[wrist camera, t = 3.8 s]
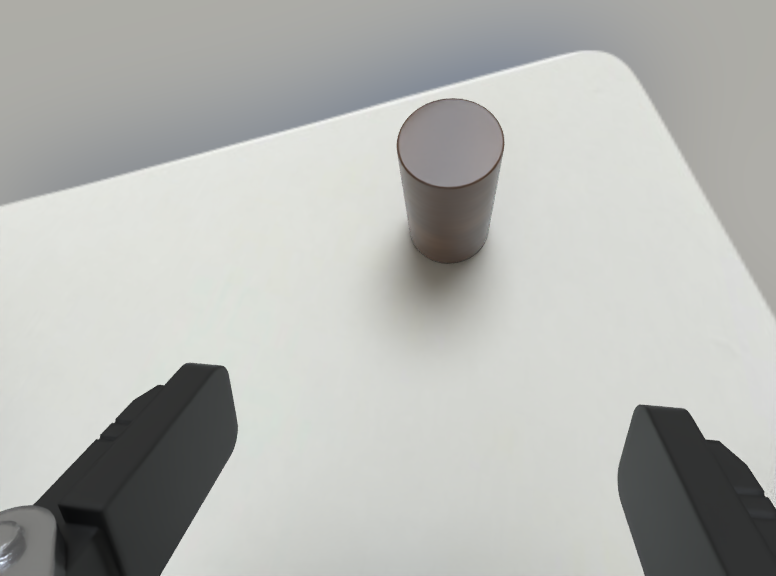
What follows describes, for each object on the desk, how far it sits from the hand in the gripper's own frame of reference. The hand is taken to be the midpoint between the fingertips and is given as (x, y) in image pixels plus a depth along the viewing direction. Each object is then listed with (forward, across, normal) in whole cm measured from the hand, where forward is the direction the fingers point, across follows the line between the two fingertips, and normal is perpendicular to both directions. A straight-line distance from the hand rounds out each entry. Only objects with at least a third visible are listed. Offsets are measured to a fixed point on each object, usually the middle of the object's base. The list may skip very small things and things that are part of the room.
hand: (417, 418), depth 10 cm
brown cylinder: (+19, 0, +2) cm, 19 cm away
